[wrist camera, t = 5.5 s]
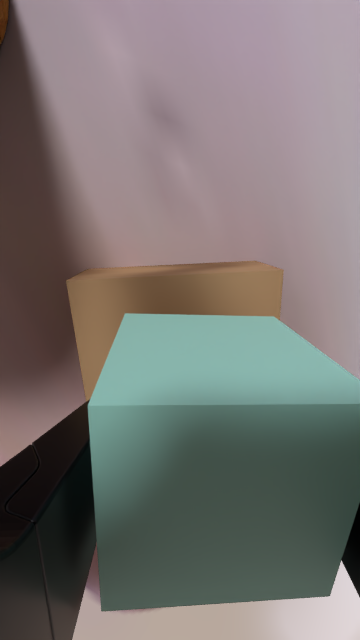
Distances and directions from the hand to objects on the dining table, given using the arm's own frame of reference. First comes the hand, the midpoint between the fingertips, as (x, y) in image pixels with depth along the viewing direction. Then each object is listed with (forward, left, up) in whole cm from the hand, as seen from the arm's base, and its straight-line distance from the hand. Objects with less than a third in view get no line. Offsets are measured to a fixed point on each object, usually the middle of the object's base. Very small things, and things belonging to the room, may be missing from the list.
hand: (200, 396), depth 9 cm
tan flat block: (0, 0, -6) cm, 6 cm away
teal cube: (0, 0, -1) cm, 1 cm away
